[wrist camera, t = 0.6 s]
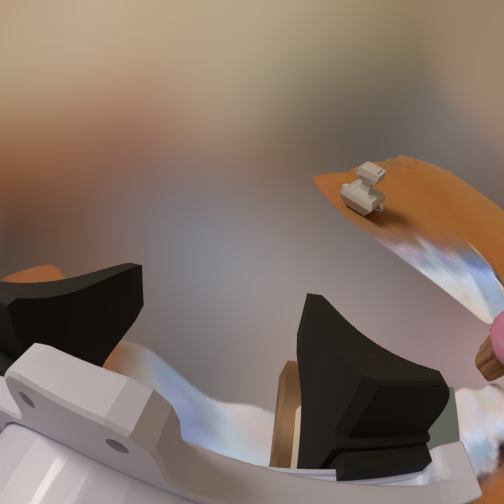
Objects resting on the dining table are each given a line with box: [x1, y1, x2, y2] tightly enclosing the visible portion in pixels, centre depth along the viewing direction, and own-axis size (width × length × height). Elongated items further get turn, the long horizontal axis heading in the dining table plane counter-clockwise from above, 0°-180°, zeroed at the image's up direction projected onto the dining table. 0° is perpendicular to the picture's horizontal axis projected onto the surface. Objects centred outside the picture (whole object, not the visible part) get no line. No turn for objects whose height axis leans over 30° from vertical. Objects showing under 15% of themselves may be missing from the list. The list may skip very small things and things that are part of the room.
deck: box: [269, 361, 301, 468], centre depth 18 cm, size 18×10×4 cm, turn 173°
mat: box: [426, 387, 459, 450], centre depth 19 cm, size 16×12×1 cm
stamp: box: [340, 162, 386, 216], centre depth 47 cm, size 9×7×8 cm
